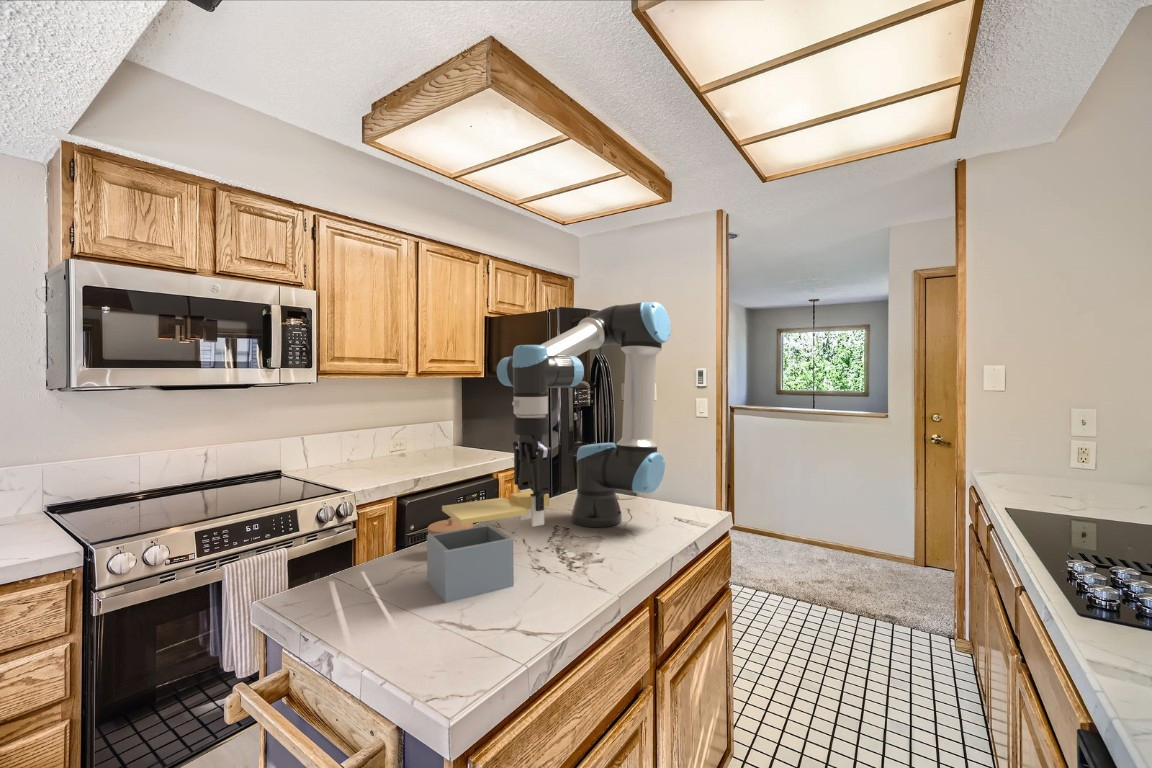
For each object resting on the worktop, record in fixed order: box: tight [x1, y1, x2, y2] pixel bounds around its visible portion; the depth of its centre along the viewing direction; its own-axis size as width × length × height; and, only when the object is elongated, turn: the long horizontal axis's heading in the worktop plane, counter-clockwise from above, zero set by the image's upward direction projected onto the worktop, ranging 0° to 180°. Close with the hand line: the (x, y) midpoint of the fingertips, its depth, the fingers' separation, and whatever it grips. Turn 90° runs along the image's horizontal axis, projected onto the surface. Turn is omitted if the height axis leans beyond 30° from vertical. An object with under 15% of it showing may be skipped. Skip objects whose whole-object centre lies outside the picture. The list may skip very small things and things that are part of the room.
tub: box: [426, 524, 515, 604], centre depth 104 cm, size 14×12×11 cm
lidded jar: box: [427, 517, 474, 535], centre depth 124 cm, size 11×11×9 cm
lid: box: [441, 490, 550, 525], centre depth 108 cm, size 21×12×2 cm, turn 122°
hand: (531, 521), depth 112 cm, fingers closed on lid, 5 cm apart
